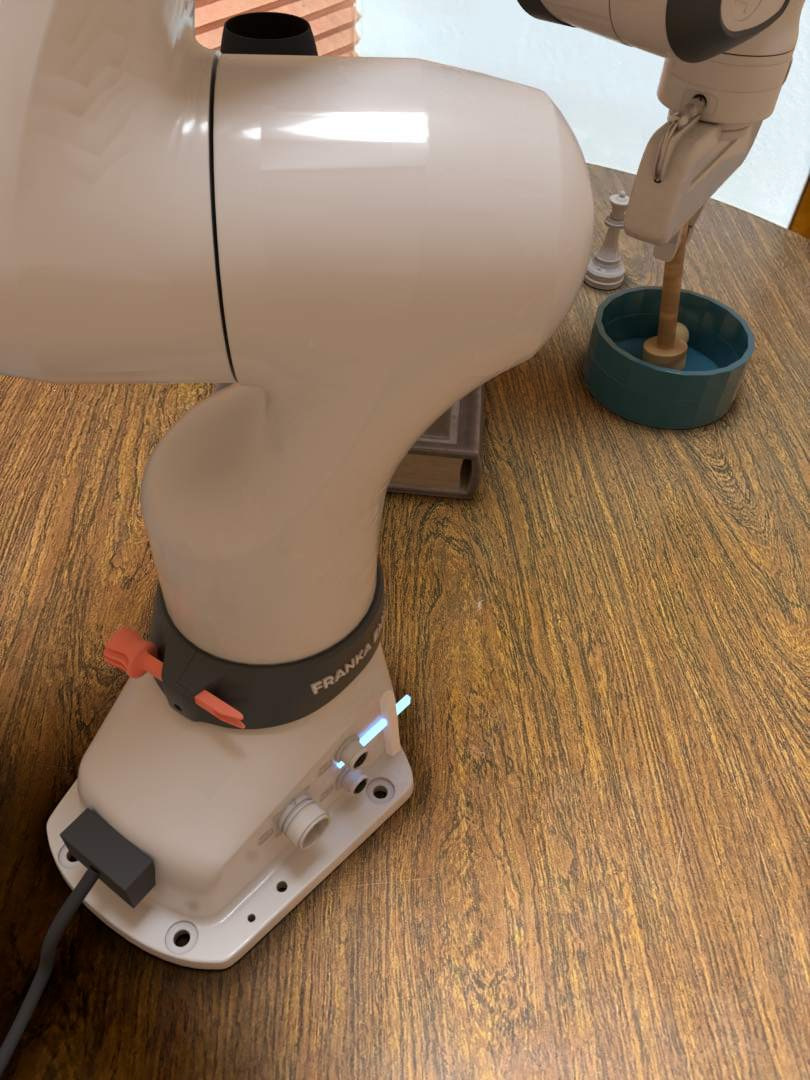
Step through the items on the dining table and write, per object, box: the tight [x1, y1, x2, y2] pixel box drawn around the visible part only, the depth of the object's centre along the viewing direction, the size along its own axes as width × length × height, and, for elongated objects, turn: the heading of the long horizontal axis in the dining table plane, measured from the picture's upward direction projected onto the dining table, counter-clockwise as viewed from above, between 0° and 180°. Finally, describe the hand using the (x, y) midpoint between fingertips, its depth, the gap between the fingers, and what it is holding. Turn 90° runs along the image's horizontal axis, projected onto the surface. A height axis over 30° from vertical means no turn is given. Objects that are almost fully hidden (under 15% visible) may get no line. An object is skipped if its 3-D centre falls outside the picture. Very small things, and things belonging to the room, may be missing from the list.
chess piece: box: [583, 190, 630, 291], centre depth 91 cm, size 4×4×10 cm
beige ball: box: [675, 322, 689, 343], centre depth 84 cm, size 3×3×3 cm
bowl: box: [582, 285, 756, 430], centre depth 80 cm, size 14×14×6 cm
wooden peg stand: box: [642, 220, 689, 371], centre depth 76 cm, size 4×4×17 cm
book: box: [212, 382, 486, 500], centre depth 79 cm, size 30×22×5 cm
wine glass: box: [219, 11, 319, 56], centre depth 94 cm, size 10×10×20 cm
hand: (670, 250), depth 75 cm, fingers closed on wooden peg stand, 2 cm apart
